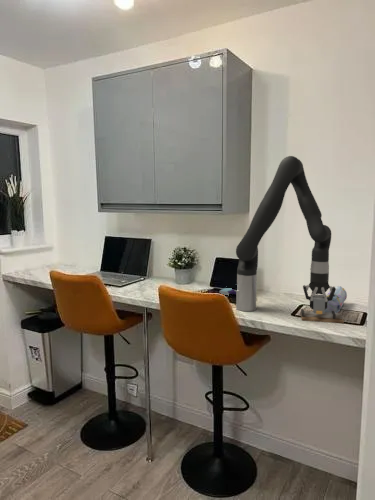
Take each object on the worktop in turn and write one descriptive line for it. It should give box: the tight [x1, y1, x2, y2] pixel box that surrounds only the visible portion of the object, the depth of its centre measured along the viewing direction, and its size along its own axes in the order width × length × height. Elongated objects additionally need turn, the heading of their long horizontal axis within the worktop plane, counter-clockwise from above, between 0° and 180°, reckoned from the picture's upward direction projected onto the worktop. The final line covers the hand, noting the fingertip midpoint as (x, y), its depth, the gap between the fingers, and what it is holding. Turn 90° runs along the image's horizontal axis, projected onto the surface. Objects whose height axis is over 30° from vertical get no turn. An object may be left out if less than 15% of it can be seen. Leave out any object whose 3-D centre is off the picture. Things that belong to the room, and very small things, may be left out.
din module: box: [312, 294, 325, 314], centre depth 160 cm, size 4×9×6 cm, turn 166°
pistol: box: [219, 287, 236, 297], centre depth 202 cm, size 4×16×15 cm
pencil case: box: [325, 285, 348, 313], centre depth 174 cm, size 21×9×10 cm, turn 148°
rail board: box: [300, 308, 345, 324], centre depth 160 cm, size 17×9×3 cm, turn 76°
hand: (318, 308), depth 160 cm, fingers closed on din module, 4 cm apart
